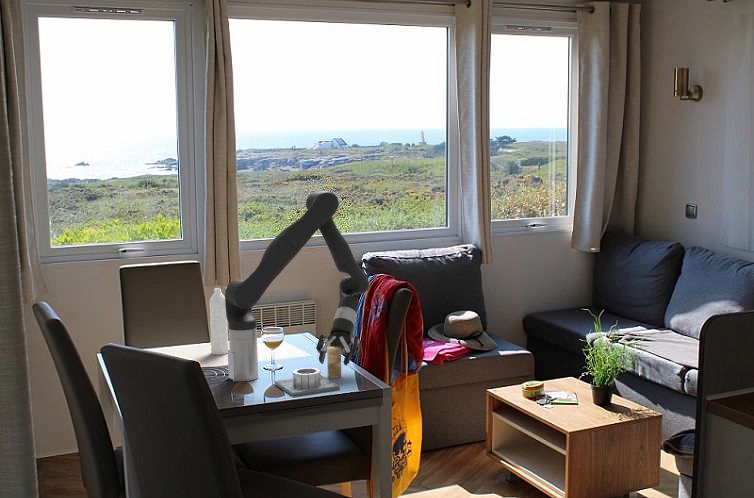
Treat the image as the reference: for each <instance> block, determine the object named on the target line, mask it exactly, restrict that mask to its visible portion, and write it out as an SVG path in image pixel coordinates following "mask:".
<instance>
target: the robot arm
mask: <svg viewBox="0 0 754 498" xmlns="http://www.w3.org/2000/svg"><path fill="white" fill-rule="evenodd" d="M339 204H340V203H339V198H338V197H337V194H335V193H334V192H332V191H327V190H324V191H323V190H322V191H320V190H317V191H314V192H311V193H310V194H309V195H307V198H306V201H305V206H306V209H307V210H306V212H305V213H303V215H302V216H300V218H298V219H297V220H296V221H294V222H292V223H291V224H290V225H288V226H287V227H285V228H284V229H283V230H281V231H280V232H279V233H278V235H277V236H275V237H274V239H273V240H272V241H271V242H270V243H269V244H268V246H267V247H266V249H265V251H264V253H263V255H262V256H261V260H260V262H259V264H258V265H257V267H256V268H255V269H254V271H253V272H251V274H250V275H249V276H248V277H246V279H245V280H243V279H234V280H231V282H229V283H228V284H227V286H226V287H227V288H226V287H225V292H224V297H225V306H226V317H227V322H228V348H229V350H228V353H227V368H228V378H229V379H230V380H231V381H233V382H248V381H254V380H256V379H258V378H259V362H258V335H257V334H258V332H257V330H258V329H257V327H258V325H257V318H256V316H255V315H254V312H253V307H254V306H255V305H256V304H257V303H258V302H259V300H260V299H261V298H262V296H263V295H264V293H265V292H266V291H267V289H269V288H270V286H271V284H272V283H273V281H275V279H276V278H277V277H278V276H279V275H280V274H281V273H282V272H283V270H284V269H285V268H286V267H288V265H289V264H290V263H291V262H292V260H293V259H294V258H295V257H297V256H298V254H299V253H300V251H301V250H302V249H303V247H305V245H306V244H307V243H308V242H309V241H310V239H311V238H312V237H313V236H314V234H315V233H316V232H317V231H318V230H319V232H320V235H322V238H323V240H324V242H325V244H326V246H327V249H328V250H329V253H330V255H331V258H332V260H333V262H334V264H335V267H336V269H337V271H338V272H340V273H345V274H348V275H347V276H343V278H342V279H341V280H340V282H339V287H338V289H339V302H338V306H337V310H336V312H335V315H334V318H333V322H332V325H331V329H330V332H329V335H328V336H325V335H324V334H320V335H319V338H318V341H317V344H316V346H315V349H316V351H317V353H318V354H319V355H318V361H319V363H320V364H321V365H324V362H325V359H326V357H327V356H326V354H327V347H331V346H339V347H341V351H343V350H345V352H346V353H345V355H344V358H343V365H344V366H348V365H349V364H350V362H351V357H352V356H357V355H358V353H359V346H360V342H361V341H360V338H359V336H357V335H356V336H354V337H353V333H354V329H355V326H356V322H357V321H356V320H357V315H358V311H359V307H360V300H359V298H358V297H356V296H355V295H361V294H365V293H367V292H368V290H369V288H370V281H369V278H368V276H367V274H366V273H365V272H364V271H363V269H362V268H361V267H360V265H359V264H358V263H357V262H356V259H355V257H354V254H353V252H352V250H351V247H350V245H349V244H348V241H347V240H346V238H344V236H343V234H342V233H341V231H340V230H339V229H338V227H337V226H336V224H335V221H334V219H333V216H334V215H335V214H336V213H337V211H338V209H339ZM351 343H352V344H353V345H352V348H351V349H350V347H349V345H350V344H351Z"/></svg>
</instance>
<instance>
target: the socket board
mask: <svg viewBox="0 0 754 498" xmlns="http://www.w3.org/2000/svg"><path fill="white" fill-rule="evenodd" d="M274 385H275V386H277V387H278V388H279V389H281V390H283V391H284V392H285V393H287V394H289V395H291V396H292V397H298V396H306V395H312V394H318V393H325V392H331V391H338V390H341V385H339V384H337V383H336V382H334V381H332V380H330V378H328V377H325V376H323V375H321V370H320V369H318V368H314V367H301V368H297V369H294V370H293V371H292V378H287V379H280V380H274Z"/></svg>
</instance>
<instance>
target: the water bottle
mask: <svg viewBox="0 0 754 498" xmlns="http://www.w3.org/2000/svg"><path fill="white" fill-rule="evenodd" d="M226 288H227V286H225V289H226ZM213 291H214V292H213V293H212V295H211V297H210V299H209V303H208V304H209V320H210V321H209V326H210V327H209V329H210V330H209V331H210V346H211V347H210V353H211V354H212V355H217V356H220V355H228V350H230V348H229V324H228V321H227V317H226V306H225V294H223V293H222V290H221V287H215V288H214V290H213Z"/></svg>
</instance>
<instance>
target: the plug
mask: <svg viewBox="0 0 754 498" xmlns="http://www.w3.org/2000/svg"><path fill="white" fill-rule="evenodd" d="M330 346H331V345H330ZM330 346H329V347H327V353H326V354H327V356H326V358H327V379H333V380H334V379H340V378H342V350H341V347H339V346H331V347H330Z"/></svg>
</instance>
